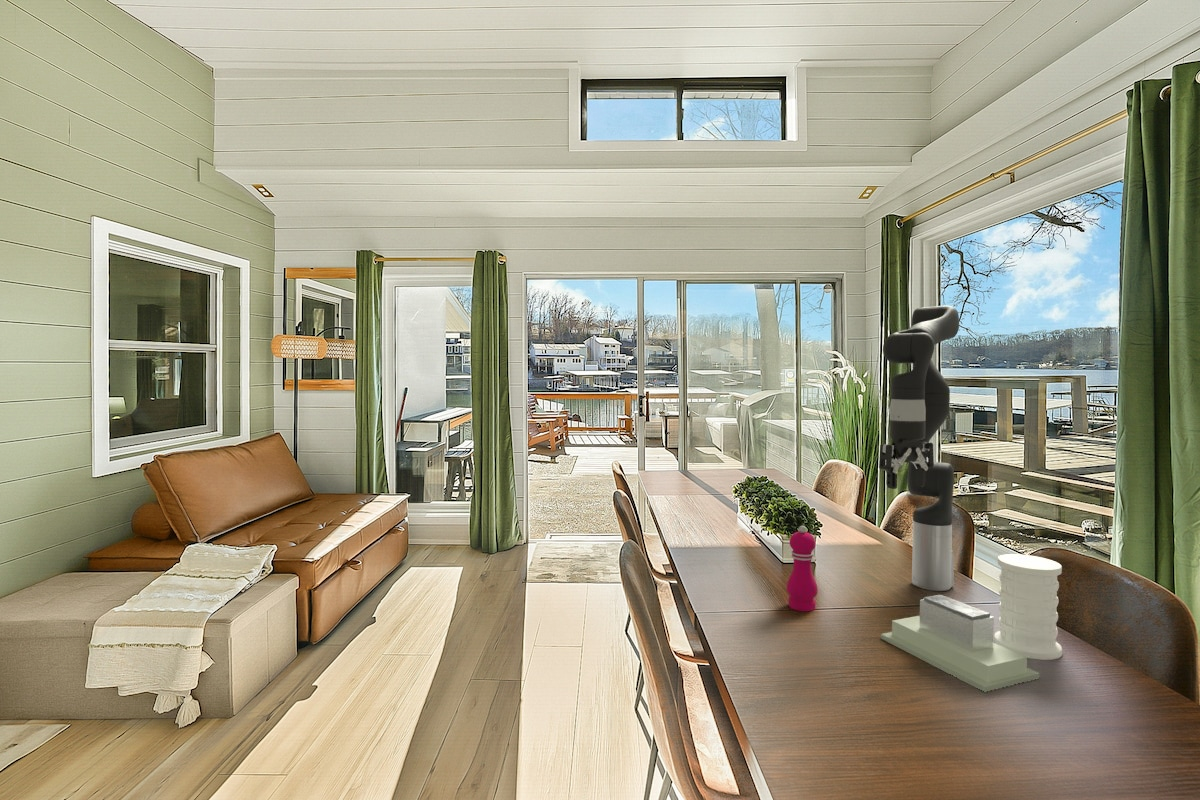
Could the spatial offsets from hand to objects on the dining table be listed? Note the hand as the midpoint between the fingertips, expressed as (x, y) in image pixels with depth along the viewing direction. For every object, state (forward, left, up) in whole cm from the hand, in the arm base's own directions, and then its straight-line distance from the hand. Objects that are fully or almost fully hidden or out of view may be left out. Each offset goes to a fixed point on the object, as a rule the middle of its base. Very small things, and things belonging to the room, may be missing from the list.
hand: (906, 487), depth 145 cm
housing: (+9, +21, -26) cm, 35 cm away
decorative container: (-9, +23, -30) cm, 39 cm away
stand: (+9, +21, -30) cm, 38 cm away
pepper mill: (+20, -12, -30) cm, 38 cm away
